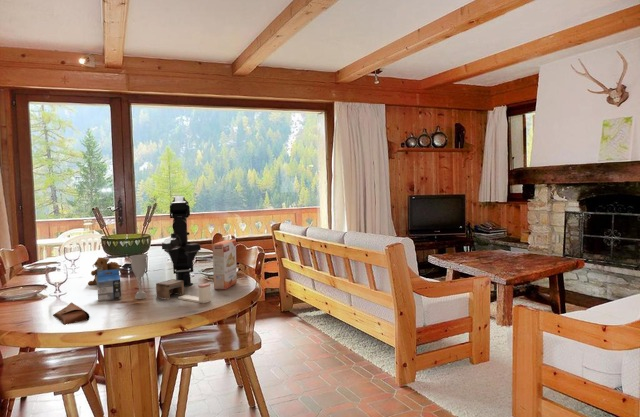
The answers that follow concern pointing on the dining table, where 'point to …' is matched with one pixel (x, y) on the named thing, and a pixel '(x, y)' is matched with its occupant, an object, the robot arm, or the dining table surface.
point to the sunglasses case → (72, 314)
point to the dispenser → (169, 288)
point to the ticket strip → (203, 294)
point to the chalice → (139, 272)
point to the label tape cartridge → (108, 285)
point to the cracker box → (224, 264)
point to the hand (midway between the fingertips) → (181, 266)
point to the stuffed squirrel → (103, 268)
